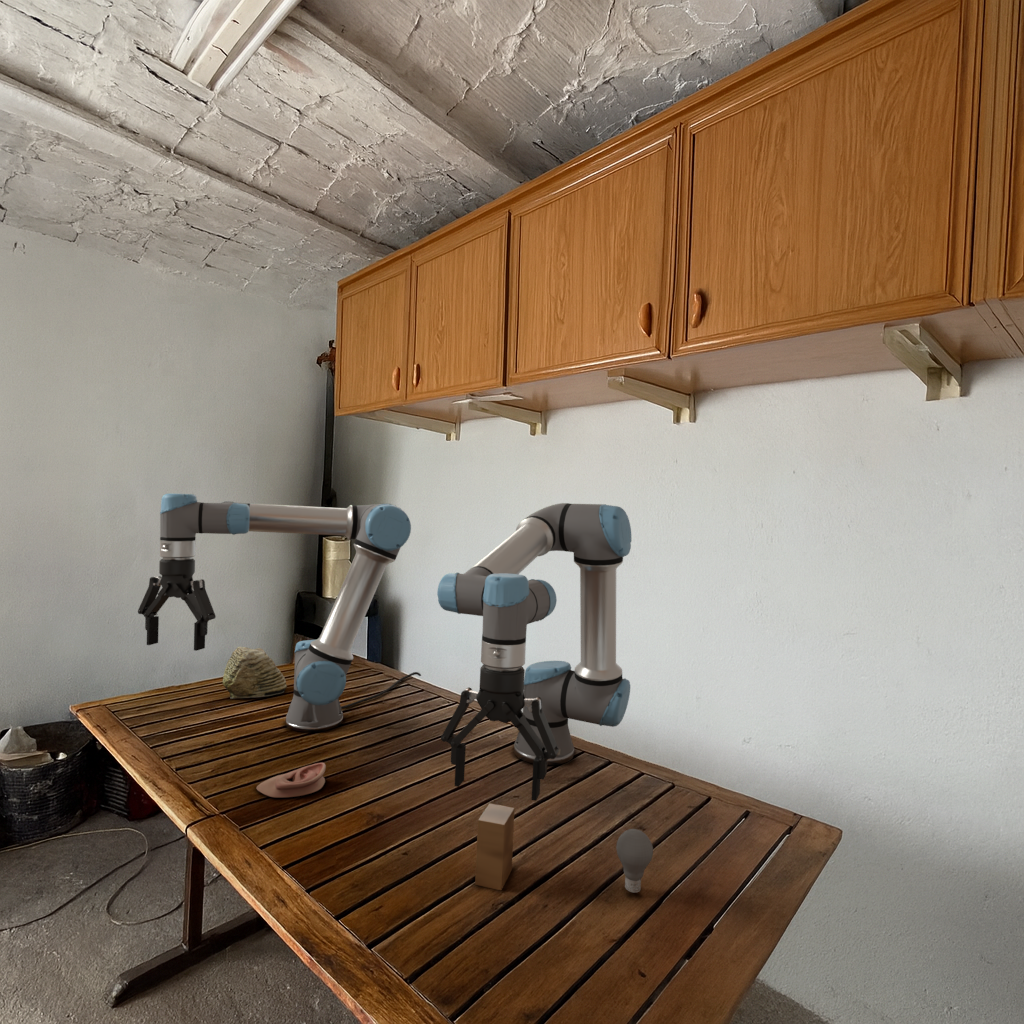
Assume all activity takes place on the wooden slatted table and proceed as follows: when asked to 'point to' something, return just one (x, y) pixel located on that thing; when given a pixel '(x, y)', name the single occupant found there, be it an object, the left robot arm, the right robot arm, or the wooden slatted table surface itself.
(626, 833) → the light bulb
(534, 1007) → the wooden slatted table surface
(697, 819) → the wooden slatted table surface
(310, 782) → the anatomical model
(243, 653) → the fossil
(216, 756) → the wooden slatted table surface
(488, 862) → the brick
